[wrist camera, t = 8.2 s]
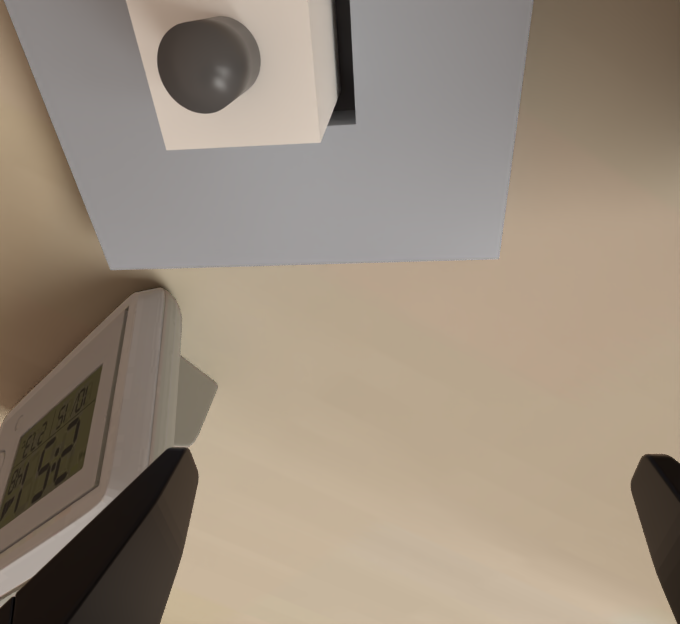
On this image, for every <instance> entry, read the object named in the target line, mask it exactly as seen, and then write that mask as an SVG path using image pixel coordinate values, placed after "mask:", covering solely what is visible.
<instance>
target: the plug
mask: <svg viewBox="0 0 680 624" xmlns="http://www.w3.org/2000/svg"><path fill="white" fill-rule="evenodd" d="M126 3H127V7H128V10H129V14H130V18H131V21H132V25H133V29H134V33H135V36H136V40H137V44H138V47H139V51H140V55H141V58H142V62H143V66H144V70H145V73H146V77H147V81H148V84H149V88H150V92H151V95H152V99H153V103H154V107H155V110H156V114H157V118H158V121H159V125H160V129H161V132H162V136H163V140H164V144H165V147H166V150H185V149H205V148H225V147H245V146H265V145H285V144H305V143H321V140H322V138H323V135H324V133H325V130H326V128H327V125H328V122H329V120H330V117H331V115H332V112H333V110H334V107H335V105H336V102H337V100H338V97H339V95H340V92H341V89H340V72H339V56H338V40H337V23H336V7H335V0H126Z"/></svg>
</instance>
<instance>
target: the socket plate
mask: <svg viewBox="0 0 680 624" xmlns="http://www.w3.org/2000/svg"><path fill="white" fill-rule="evenodd" d="M533 1H534V0H335V7H336V23H337V40H338V56H339V72H340V89H341V92H340V95H339V97H338V100H337V102H336V105H335V107H334V110H333V112H332V115H331V117H330V120H329V122H328V125H327V128H326V130H325V133H324V135H323V138H322V140H321V143H305V144H285V145H265V146H245V147H225V148H205V149H185V150H166V147H165V144H164V140H163V136H162V132H161V129H160V125H159V121H158V118H157V114H156V110H155V107H154V103H153V99H152V95H151V92H150V88H149V84H148V81H147V77H146V73H145V70H144V66H143V62H142V58H141V55H140V51H139V47H138V44H137V40H136V36H135V33H134V29H133V25H132V21H131V18H130V14H129V10H128V7H127V3H126V0H4V2H5V5H6V7H7V10H8V12H9V15H10V18H11V20H12V23H13V25H14V28H15V30H16V33H17V35H18V38H19V40H20V43H21V45H22V48H23V50H24V53H25V55H26V58H27V60H28V63H29V66H30V68H31V71H32V73H33V76H34V78H35V81H36V83H37V86H38V88H39V91H40V93H41V96H42V98H43V101H44V103H45V106H46V108H47V111H48V113H49V116H50V119H51V121H52V124H53V126H54V129H55V131H56V134H57V136H58V139H59V141H60V144H61V146H62V149H63V151H64V154H65V156H66V159H67V161H68V164H69V167H70V169H71V172H72V174H73V177H74V179H75V182H76V184H77V187H78V189H79V192H80V194H81V197H82V199H83V202H84V204H85V207H86V209H87V212H88V215H89V217H90V220H91V222H92V225H93V227H94V230H95V232H96V235H97V237H98V240H99V242H100V245H101V247H102V250H103V252H104V255H105V257H106V260H107V262H108V265H109V268H110V270H132V269H167V268H202V267H238V266H273V265H308V264H343V263H378V262H414V261H449V260H484V259H499V255H500V248H501V240H502V233H503V225H504V218H505V210H506V203H507V195H508V188H509V181H510V173H511V166H512V158H513V151H514V143H515V136H516V128H517V121H518V113H519V106H520V98H521V91H522V83H523V76H524V68H525V61H526V53H527V46H528V38H529V31H530V23H531V16H532V8H533Z"/></svg>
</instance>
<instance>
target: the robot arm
mask: <svg viewBox="0 0 680 624" xmlns="http://www.w3.org/2000/svg"><path fill="white" fill-rule="evenodd" d="M197 485H198V470H197V467H196V465H195V462H194V459H193V457H192V454H191V452H190V450H189V449H188V448H186V447H170V448H168V449H166V450H165V451H164V452H163V453H162V454H161V455H160V456H159V457H158V458H156V459H155V460H154V461H153V462H152V463H151V464H150V465H149V466H148V467H147V468H146V469H145V470H144V471H143V472H142V473H141V474H140V475H139V476H138V477H137V478H136V479H135V480H133V481H132V482H131V483H130V484H129V485H128V486H127V487H126V488H125V489H124V490H123V491H122V492H121V493H120V494H119V495H118V496H117V497H116V498H115V499H114V500H113V501H111V502H110V503H109V504H108V505H107V506H106V507H105V508H104V509H103V510H102V511H101V512H100V513H99V514H98V515H97V516H96V517H95V518H94V519H93V520H92V521H91V522H89V523H88V524H87V525H86V526H85V527H84V528H83V529H82V530H81V531H80V532H79V533H78V534H77V535H76V536H75V537H74V538H73V539H72V540H71V541H70V542H69V543H68V544H66V545H65V546H64V547H63V548H62V549H61V550H60V551H59V552H58V553H57V554H56V555H55V556H54V557H53V558H52V559H51V560H50V561H49V562H48V563H47V564H46V565H44V566H43V567H42V568H41V569H40V570H39V571H38V572H37V573H36V574H35V575H34V576H33V577H32V578H31V579H30V580H29V581H28V582H27V583H26V584H25V585H24V586H22V587H21V588H20V589H19V590H18V591H17V592H16V594H15V596H13V597H11V598H10V599H9V600H8V601H7V602H6V603H4V604H3V605H2V606H1V607H0V624H160V622H161V619H162V616H163V613H164V609H165V606H166V603H167V600H168V597H169V594H170V591H171V588H172V585H173V582H174V579H175V576H176V573H177V570H178V567H179V564H180V560H181V557H182V553H183V549H184V545H185V541H186V536H187V531H188V527H189V522H190V518H191V513H192V508H193V504H194V499H195V494H196V490H197ZM631 492H632V495H633V499H634V502H635V505H636V509H637V512H638V515H639V519H640V522H641V525H642V528H643V532H644V535H645V538H646V542H647V545H648V548H649V552H650V555H651V558H652V561H653V564H654V567H655V570H656V573H657V576H658V578H659V581H660V583H661V586H662V588H663V591H664V593H665V595H666V598H667V600H668V602H669V605H670V607H671V610H672V612H673V614H674V617H675V619H676V621H677V624H680V463H679V462H677V461H676V460H675V459H674V458H672V457H670V456H668V455H665V454H645V455H644V456H642V458H641V459H640V462H639V464H638V466H637V468H636V470H635V473H634V475H633V477H632V480H631Z"/></svg>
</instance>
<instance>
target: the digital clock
mask: <svg viewBox="0 0 680 624" xmlns="http://www.w3.org/2000/svg"><path fill="white" fill-rule="evenodd" d="M181 333H182V316H181V311H180V308H179V305H178V303H177V301H176V299H175V298H174V297H173V296H172V295H171V294H170V293H169V292H168V291H167V290H165V289H163V288H155V289H150V290H145V291H140V292H135V293H133V294H132V295H130V296H129V297H128V298H127V299H126V300H125V301H124V302H123V303H122V304H121V305H119V306H118V307H117V308H116V309H115V310H114V311H113V312H112V313H111V314H110V315H109V316H108V317H107V318H106V319H105V320H104V321H103V322H102V323H101V324H100V325H99V326H97V327H96V328H95V329H94V330H93V331H92V332H91V333H90V334H89V335H88V336H87V337H86V338H85V339H84V340H83V341H82V342H81V343H80V344H79V345H78V346H77V347H76V348H75V349H74V350H73V351H72V352H71V353H70V354H69V355H67V356H66V357H65V358H64V359H63V360H62V361H61V362H60V363H59V364H58V365H57V366H56V367H55V368H54V369H53V370H52V371H51V372H50V373H49V374H48V375H47V376H46V377H45V378H44V379H43V380H42V381H41V382H40V383H39V384H37V385H36V386H35V387H34V388H33V389H32V390H31V391H30V392H29V393H28V394H27V395H26V396H25V397H24V398H23V399H22V400H21V401H20V402H19V403H18V404H17V405H16V406H15V407H14V408H13V409H12V410H11V411H10V412H9V413H8V414H7V416H6V417H5V419H4V420H3V423H2V425H1V427H0V607H1V606H2V605H3V604H4V603H6V602H7V601H8V600H9V599H10V598H11V597H13V596H15V594H16V592H17V591H18V590H19V589H20V588H21V587H22V586H24V585H25V584H26V583H27V582H28V581H29V580H30V579H31V578H32V577H33V576H34V575H35V574H36V573H37V572H38V571H39V570H40V569H41V568H42V567H43V566H44V565H46V564H47V563H48V562H49V561H50V560H51V559H52V558H53V557H54V556H55V555H56V554H57V553H58V552H59V551H60V550H61V549H62V548H63V547H64V546H65V545H66V544H68V543H69V542H70V541H71V540H72V539H73V538H74V537H75V536H76V535H77V534H78V533H79V532H80V531H81V530H82V529H83V528H84V527H85V526H86V525H87V524H88V523H89V522H91V521H92V520H93V519H94V518H95V517H96V516H97V515H98V514H99V513H100V512H101V511H102V510H103V509H104V508H105V507H106V506H107V505H108V504H109V503H110V502H111V501H113V500H114V499H115V498H116V497H117V496H118V495H119V494H120V493H121V492H122V491H123V490H124V489H125V488H126V487H127V486H128V485H129V484H130V483H131V482H132V481H133V480H135V479H136V478H137V477H138V476H139V475H140V474H141V473H142V472H143V471H144V470H145V469H146V468H147V467H148V466H149V465H150V464H151V463H152V462H153V461H154V460H155V459H156V458H158V457H159V456H160V455H161V454H162V453H163V452H164V451H165V450H166V449H168V448H170V447H186V448H188V447H189V446H190V445H192V444H193V443H194V441H195V440H196V438H197V437H198V435H199V433H200V430H201V428H202V425H203V423H204V421H205V418H206V416H207V413H208V411H209V408H210V406H211V403H212V401H213V398H214V396H215V394H216V391H217V389H218V386H217V384H216V383H215V382H214V381H213V380H212V379H211V378H209V377H208V376H207V375H205V374H204V373H203V372H202V371H200V370H199V369H198V368H196V367H195V366H194V365H192V364H191V363H190V362H188V361H187V360H186V359H185V358H183V357H182V356H181V355H180V347H181Z"/></svg>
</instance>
